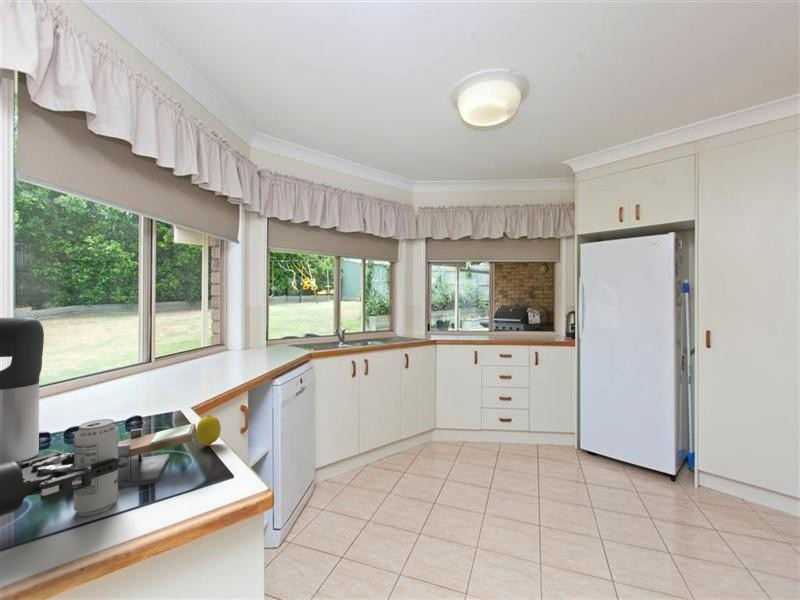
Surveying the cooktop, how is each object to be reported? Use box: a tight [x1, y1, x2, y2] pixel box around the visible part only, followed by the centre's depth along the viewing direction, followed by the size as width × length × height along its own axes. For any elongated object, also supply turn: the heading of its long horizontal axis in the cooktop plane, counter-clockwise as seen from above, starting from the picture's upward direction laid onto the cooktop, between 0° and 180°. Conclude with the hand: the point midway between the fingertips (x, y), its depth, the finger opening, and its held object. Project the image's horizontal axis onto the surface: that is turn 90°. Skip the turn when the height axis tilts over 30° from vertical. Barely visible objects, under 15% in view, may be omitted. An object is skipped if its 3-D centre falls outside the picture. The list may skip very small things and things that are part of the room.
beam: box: [69, 423, 197, 457], centre depth 78 cm, size 24×8×2 cm, turn 114°
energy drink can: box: [73, 418, 119, 517], centre depth 65 cm, size 6×6×15 cm
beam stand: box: [118, 427, 170, 490], centre depth 78 cm, size 12×13×8 cm
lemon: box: [195, 414, 222, 447], centre depth 94 cm, size 6×6×8 cm
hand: (107, 457), depth 67 cm, fingers open, 8 cm apart
